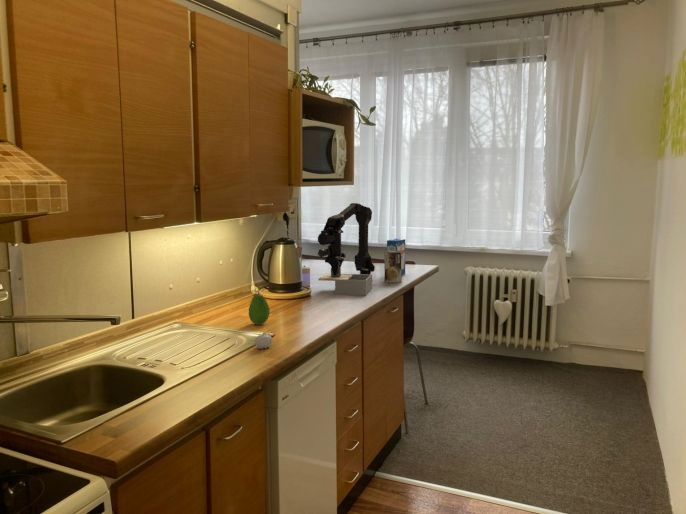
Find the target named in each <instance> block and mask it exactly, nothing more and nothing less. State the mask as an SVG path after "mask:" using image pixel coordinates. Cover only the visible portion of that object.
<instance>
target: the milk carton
mask: <svg viewBox="0 0 686 514" xmlns="http://www.w3.org/2000/svg"><path fill="white" fill-rule="evenodd" d="M386 251H401V271H402V276H404V275H406V239H405V238H392V239H388V240H386ZM403 274H404V275H403Z"/></svg>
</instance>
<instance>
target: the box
mask: <svg viewBox="0 0 686 514" xmlns="http://www.w3.org/2000/svg"><path fill="white" fill-rule="evenodd" d="M352 274H353V276H352V277H351V278H350V279H349V280H341V279H335V281H334V294H335V295H339V296H342V295H344V296H345V295H346V296H367V295H368V294H369V293H370V292H371V290H372V289H373V274H371V275H368V274H360V273H358V274H356V273H352Z"/></svg>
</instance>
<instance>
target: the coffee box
mask: <svg viewBox="0 0 686 514" xmlns="http://www.w3.org/2000/svg"><path fill="white" fill-rule="evenodd" d="M383 257H384V261H383V262H384V267H383V268H384V283H402V282H403V281H402V277H403V275H402V271H401V251H387V250H384V253H383Z"/></svg>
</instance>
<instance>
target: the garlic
mask: <svg viewBox="0 0 686 514" xmlns="http://www.w3.org/2000/svg"><path fill="white" fill-rule="evenodd" d="M254 344H255V346H256V348H258V349H260V350H264V349H263V348H265V349H268V348H269V347H271V345H272V344H273V337H272V336H271V335H270V334H269V335H268V334H267V331H264V332H263V333H261V334H259V335H258V336H256V337H255V338H254ZM267 347H268V348H267Z"/></svg>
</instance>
